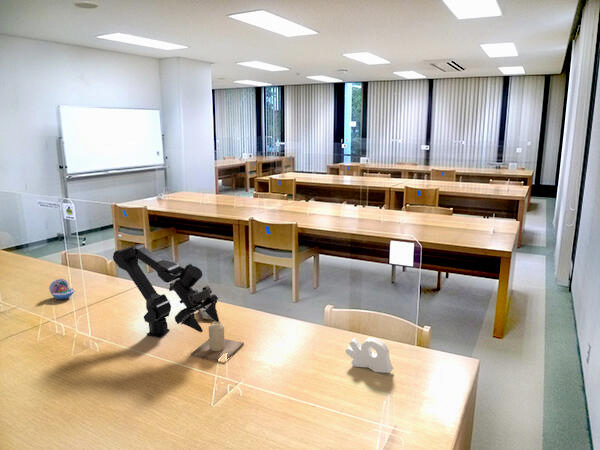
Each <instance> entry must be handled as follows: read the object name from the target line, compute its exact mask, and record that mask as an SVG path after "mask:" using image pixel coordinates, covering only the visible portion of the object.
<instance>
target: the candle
mask: <svg viewBox="0 0 600 450" xmlns="http://www.w3.org/2000/svg"><path fill="white" fill-rule="evenodd" d="M208 339H209V344H210V350H212V351H221V350H223V349H224V348H225V339H226V338H225V325H224V324H223V323H222V322H221V321H219V322H216V321H214V320H213V321H212V322H211V324H209V325H208Z"/></svg>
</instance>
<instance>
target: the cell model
mask: <svg viewBox="0 0 600 450" xmlns="http://www.w3.org/2000/svg"><path fill="white" fill-rule="evenodd" d="M48 288H49V289H48V290H49V294H50V295H51V296H53V297H54V298H55V299H57V300H65V299H66V300H67V299H69V298H71V296H73V294H74V293H75V292H76V290H75V289H74V288H73V287H69V282H68V281H67V280H66V279H64V278H58V279H55V280H53V281H52V282H51V283H50V284H49V287H48Z"/></svg>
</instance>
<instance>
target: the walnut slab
mask: <svg viewBox="0 0 600 450" xmlns="http://www.w3.org/2000/svg"><path fill="white" fill-rule="evenodd" d="M224 339H225V348H224V349H223V350H221V351H212V350H210V344H209V338H208V339H207V340H206V341H204V342H203V343H202V344H200V345H199V346H198V347H197V348H196V349H195V350H194V351H192V352H191V353H190V357H194V358H199V359H202V360H203V359H204V360H209V361H212V362H213V361H214V362H218V359H219V358H220V357H221V356H222V355H223V354H225V353H228V354H227V359H228V358H230V357H231V356H232V357H233V356H234V355H235V354H236V353H237V352H238V351H239V350H240V349H242V347H243V346H244V342H242V341H238V340H234V339H233V340H231V339H226V338H224ZM232 357H231V358H232ZM231 358H230V359H231Z"/></svg>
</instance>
